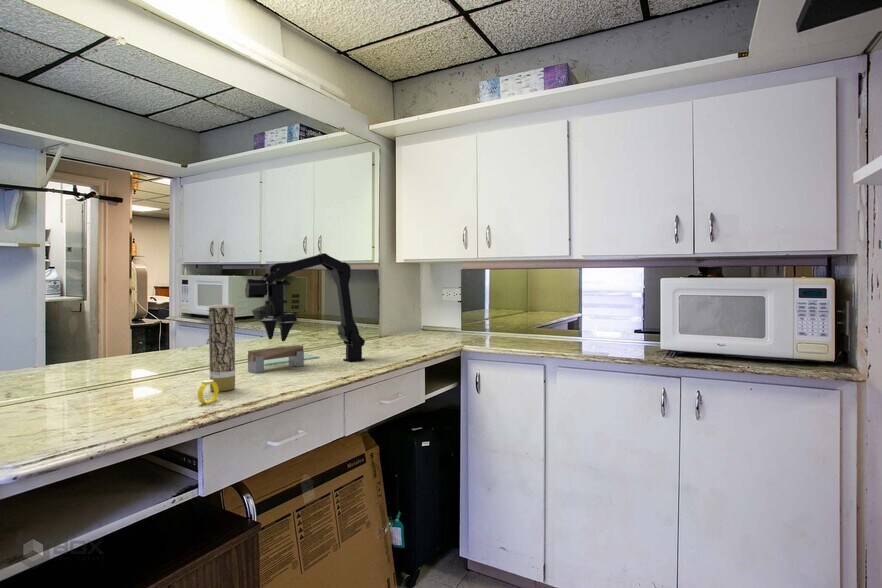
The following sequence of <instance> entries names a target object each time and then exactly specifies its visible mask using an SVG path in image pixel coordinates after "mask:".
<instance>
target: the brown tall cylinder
mask: <svg viewBox="0 0 882 588" xmlns="http://www.w3.org/2000/svg"><path fill="white" fill-rule="evenodd" d="M235 326H236V325H235V306H234V304H212V305H208V333H209V334H208V338H209V350H208V351H209V354H208V355H209V380H214V382H215V383H216V384H217V386H218V390H219V392H222V391H223V392H228V391H233V390H234V389H235V388H236V350H235V349H236V344H235V343H236V340H235V339H236V337H235V332H236V331H235ZM209 389H210V391H212V392H214V387H213V385H212V384H209Z"/></svg>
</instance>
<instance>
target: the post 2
mask: <svg viewBox="0 0 882 588" xmlns="http://www.w3.org/2000/svg"><path fill="white" fill-rule="evenodd" d="M304 355H305V351H304V350H303V351H296V356H292V357H288V358H289V362H288V366H290V365H291V366H290V367H294V366H296V367H295V368H299V367H298V366H301V367H305V360H304Z"/></svg>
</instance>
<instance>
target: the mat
mask: <svg viewBox="0 0 882 588" xmlns="http://www.w3.org/2000/svg"><path fill="white" fill-rule="evenodd" d="M313 358H316V359H320V356H318V355H312V354H304V361H307V360H306V359H309V360H314V359H313ZM286 362H288V363H289V358H288V357H285V358H277V359H270V360H264V365H267V366H273V365H272V364H274V365H279V363H281V364H287V363H286Z"/></svg>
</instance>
